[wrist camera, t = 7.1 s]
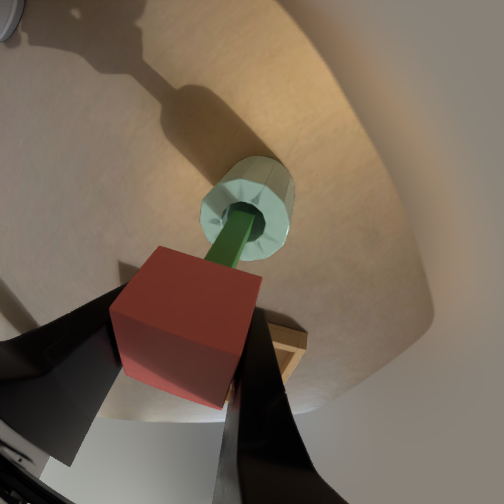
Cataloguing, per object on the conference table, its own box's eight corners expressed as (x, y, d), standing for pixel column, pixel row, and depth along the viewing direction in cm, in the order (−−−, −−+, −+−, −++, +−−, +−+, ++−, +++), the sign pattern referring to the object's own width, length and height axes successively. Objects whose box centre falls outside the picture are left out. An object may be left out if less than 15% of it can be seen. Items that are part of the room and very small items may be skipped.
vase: (303, 166, 17) (300, 194, 13) (284, 228, 20) (275, 270, 16) (233, 148, 17) (206, 169, 13) (220, 210, 20) (195, 246, 16)
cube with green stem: (283, 200, 14) (241, 356, 6) (266, 257, 15) (221, 411, 8) (215, 182, 14) (108, 307, 6) (206, 239, 16) (124, 374, 8)
